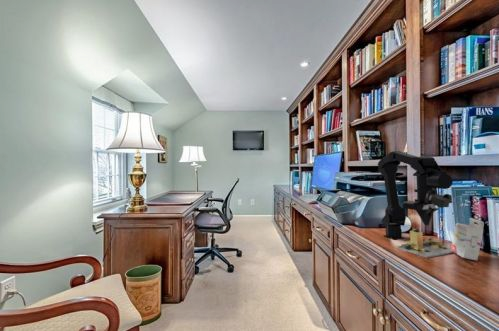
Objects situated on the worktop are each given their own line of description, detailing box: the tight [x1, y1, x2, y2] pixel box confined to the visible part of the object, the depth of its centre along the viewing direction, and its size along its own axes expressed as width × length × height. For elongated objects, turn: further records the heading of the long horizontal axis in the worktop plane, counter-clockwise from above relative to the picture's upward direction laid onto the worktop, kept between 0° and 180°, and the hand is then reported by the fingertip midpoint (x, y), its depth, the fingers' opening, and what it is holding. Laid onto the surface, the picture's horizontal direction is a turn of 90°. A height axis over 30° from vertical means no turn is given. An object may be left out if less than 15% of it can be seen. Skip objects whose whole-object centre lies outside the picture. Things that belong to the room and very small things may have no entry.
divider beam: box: [401, 237, 445, 249], centre depth 107 cm, size 8×18×3 cm, turn 107°
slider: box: [404, 228, 425, 251], centre depth 105 cm, size 8×3×8 cm, turn 17°
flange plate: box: [397, 244, 455, 259], centre depth 105 cm, size 13×19×1 cm
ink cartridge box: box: [450, 217, 485, 262], centre depth 96 cm, size 9×5×15 cm, turn 168°
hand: (426, 225), depth 102 cm, fingers closed
